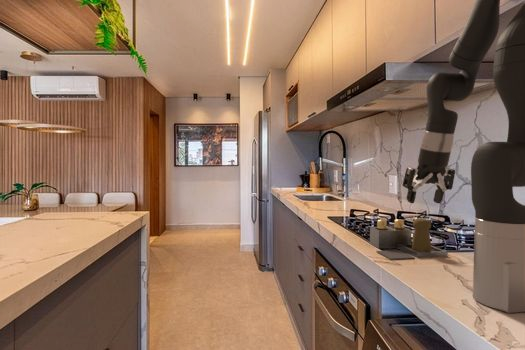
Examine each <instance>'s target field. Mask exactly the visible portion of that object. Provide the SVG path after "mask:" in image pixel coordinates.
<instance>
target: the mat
mask: <svg viewBox="0 0 525 350" xmlns="http://www.w3.org/2000/svg"><path fill="white" fill-rule="evenodd" d="M376 253H377V254H379V255H381V256H382V257H384V258H386V259H388V260H389V261H395V260H396V261H397V260H415V259H416V257H414V256H412V255H410V254H408V253H406V252H403V251H401V250H399V249H394V250H391V249H390V250H376Z"/></svg>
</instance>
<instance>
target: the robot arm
mask: <svg viewBox="0 0 525 350" xmlns="http://www.w3.org/2000/svg"><path fill="white" fill-rule="evenodd" d="M500 5H501V0H474V2H473V5H472V8H471V10H470V14H469V16H468V18H467V21H466V23H465V26H464V27H463V29H462V31H461V32H460V35H459V37H458V38H457V41H456V43H455V45H454V47H453V48H452V50H451V52H450V55H449V57H448V62H449V65H451V66H452V67H454V68H456V69H457V70H460V72H459V73H457V72H443V71H442V72H436V73H434V74H433V75H432V76H430V77H429V80H428V82H427V85H426V99H427V100H426V101H427V120H426V125H425V129H424V130H425V131H424V134H423V136H422V140H421V143H420V149H419V154H418V158H417V163H418V164H417V167H415V168H414V167H412V166H407V167H406V169H405V172H404V176H403V181H402V187H404V188H406V189H407V192H406V193H407V195H406V200H407V203H410V204H415V200H416V196H417V191H418V189H419V188H420V187H423V186H424V185H425V184H427V185H428V184H433V185H435V187H436V189H435V192H434V196H433V202H434V203H436V204H441V203H442V201H443V199H444V194H445V193H446V191H447V190H449V191H451V190H452V189H453V186H454V180H455V177H456V176H455V175H456V170H455V169H453V168H450V167H448V165H449V162H450V158H451V153H452V149H453V145H454V136H455V131H456V128H457V123H458V117H459V114H458V113H457V112H456V111H454V110H451V109H447V108H446V107H445V104H444V101H445V102H446V101H447V102H448V101H450V102H462V101H464V100H466V99H467V98H468V97H469V96H470V95H471V94H472V93H473V90H474V87H475V84H476V81H477V78H478V77H477V76H478V74H479V70H480V66H481V63H482V62H483V60H484V59H485V57H486V56H487V54H488V52H489V50H490V49H491V48H492V45H493V44H494V42H495V40H496V38H497V35H498V32H499V29H500V7H501V6H500ZM493 58H494V59H493V67H492V80H493V83H494V86H495V89H496V92H497V93H498V95H499V98H500V99H501V101H502V104H503V106H504V108H505V111H506V114H507V119H508V120H507V121H508V130H507V138H506V141H488V142H484V143H483V144H481V145H479V146H478V147H477V148H476V150H475V151H474V154H473V155H472V159H471V163H470V164H471V165H470V166H471V167H470V180H471V181H470V183H471V184H470V185H471V203H472V206H473V208H474V211H475V212H474V213H475V218H474V219H475V220H474V246H473V273H472V275H473V276H472V297H473V299H474V300H475V301H477V302H478V303H480V304H482V305H484V306H487V307H490V308H493V309H497V310H500V311H502V312H504V313H506V314H508V313H509V314H510V313H512V314H513V313H522V312H523V313H524V312H525V205H524V204H522V203H520V202H518V201H517V200H516V198H515V197H514V188H519V187H520V188H522V187H523V188H524V187H525V1H524V2H523V4H522V6H521V7H520V8H519V10H518V11H517V12H516V14H515V15H514V16H513V18H512V19H511V21H509V23H508V24H507V26H506V27H505V29H504V30H503V31H502V33H501V35H500V36H499V38H498V39H497V42H496V45H495V51H494V57H493ZM443 176H444V177H443Z"/></svg>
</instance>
